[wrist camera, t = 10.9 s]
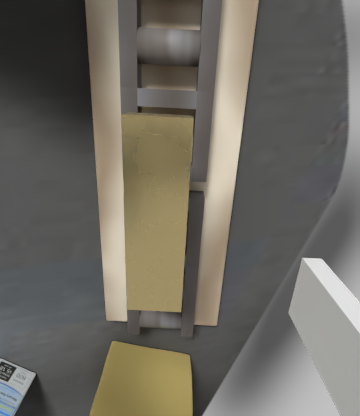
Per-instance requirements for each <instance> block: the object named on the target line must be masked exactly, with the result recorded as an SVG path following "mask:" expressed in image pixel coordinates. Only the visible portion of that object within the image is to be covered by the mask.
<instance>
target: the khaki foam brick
mask: <svg viewBox="0 0 360 416" xmlns="http://www.w3.org/2000/svg"><path fill="white" fill-rule="evenodd" d="M121 115H122V149H123V183H124V217H125V251H126V285H127V310H145V311H165V312H181V308H182V292H183V277H184V261H185V246H186V230H187V215H188V199H189V184H190V168H191V153H192V137H193V121H194V118H193V116H190V115H171V114H152V113H133V112H128V113H125V114H121Z"/></svg>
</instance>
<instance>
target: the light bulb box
mask: <svg viewBox="0 0 360 416" xmlns="http://www.w3.org/2000/svg"><path fill="white" fill-rule="evenodd" d="M35 376H36V373H34V372H31V371H29V370H27V369H24V368H22V367H20V366H17V365H15V364H13V363H10V362H8V361H6V360H4V359H1V358H0V416H14V415H15V413H16V411H17V409H18V408H19V406H20V404H21V402H22V400H23V398H24V396H25V394H26V393H27V391H28V389H29V387H30V385H31V383H32V381H33V379H34V378H35Z"/></svg>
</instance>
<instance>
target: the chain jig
mask: <svg viewBox="0 0 360 416" xmlns="http://www.w3.org/2000/svg"><path fill="white" fill-rule="evenodd" d="M258 3H259V0H85V8H86V23H87V38H88V53H89V68H90V83H91V98H92V113H93V128H94V143H95V158H96V173H97V188H98V203H99V218H100V233H101V248H102V262H103V277H104V292H105V307H106V320H109V321H127V330H128V334H133V335H140V329H141V327H151V328H171V329H181V337H193V327H194V325H211V326H217V320H218V312H219V304H220V297H221V289H222V281H223V273H224V266H225V258H226V250H227V242H228V235H229V227H230V219H231V211H232V204H233V196H234V188H235V181H236V173H237V165H238V157H239V150H240V142H241V134H242V126H243V119H244V111H245V103H246V95H247V88H248V80H249V72H250V64H251V57H252V49H253V41H254V34H255V26H256V18H257V10H258ZM128 112H133V113H152V114H171V115H190V116H193V118H194V121H193V137H192V153H191V168H190V184H189V199H188V215H187V230H186V246H185V261H184V277H183V292H182V308H181V312H165V311H145V310H127V285H126V251H125V217H124V183H123V149H122V115H121V114H125V113H128Z"/></svg>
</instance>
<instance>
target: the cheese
mask: <svg viewBox="0 0 360 416" xmlns="http://www.w3.org/2000/svg"><path fill="white" fill-rule="evenodd" d="M90 416H193V398H192V371H191V362H190V355H187V354H183V353H178V352H173V351H167V350H161V349H155V348H148V347H143V346H138V345H133V344H128V343H123V342H118V341H112V343H111V346H110V349H109V352H108V355H107V358H106V361H105V365H104V369H103V373H102V376H101V380H100V383H99V386H98V389H97V392H96V395H95V398H94V401H93V405H92V408H91V412H90Z"/></svg>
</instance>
